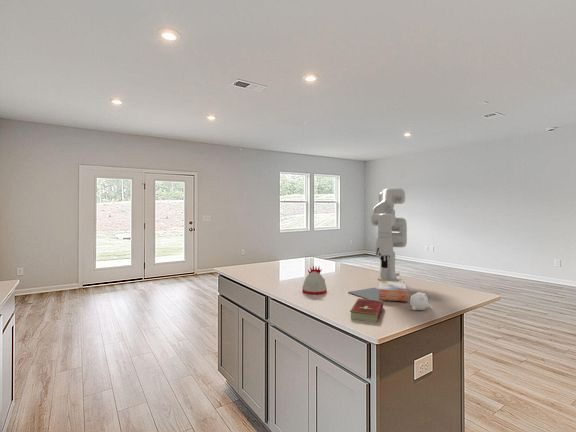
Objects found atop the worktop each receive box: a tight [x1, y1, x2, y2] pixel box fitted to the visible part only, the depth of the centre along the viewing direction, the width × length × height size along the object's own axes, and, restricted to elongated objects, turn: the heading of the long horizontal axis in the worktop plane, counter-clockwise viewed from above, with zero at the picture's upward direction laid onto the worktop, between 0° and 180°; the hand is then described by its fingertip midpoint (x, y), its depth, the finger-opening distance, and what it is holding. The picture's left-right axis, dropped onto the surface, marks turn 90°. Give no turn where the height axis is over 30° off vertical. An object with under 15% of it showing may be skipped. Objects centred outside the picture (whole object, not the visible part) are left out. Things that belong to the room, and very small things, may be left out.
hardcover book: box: [349, 297, 384, 323], centre depth 148 cm, size 12×21×4 cm, turn 158°
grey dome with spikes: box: [302, 265, 328, 296], centre depth 186 cm, size 14×14×15 cm
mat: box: [347, 287, 390, 303], centre depth 178 cm, size 20×22×1 cm
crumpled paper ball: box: [409, 291, 433, 311], centre depth 154 cm, size 9×11×12 cm
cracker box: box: [378, 280, 408, 302], centre depth 175 cm, size 14×6×21 cm
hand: (384, 267), depth 184 cm, fingers closed
